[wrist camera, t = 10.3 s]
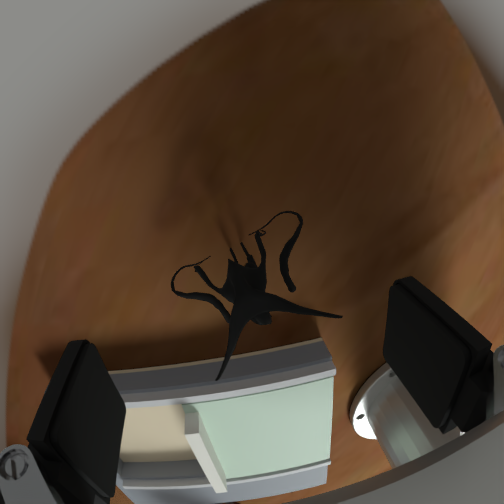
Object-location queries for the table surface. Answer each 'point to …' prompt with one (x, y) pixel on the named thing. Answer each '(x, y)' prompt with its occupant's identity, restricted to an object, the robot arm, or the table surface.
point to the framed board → (173, 423)
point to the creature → (250, 291)
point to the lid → (261, 431)
